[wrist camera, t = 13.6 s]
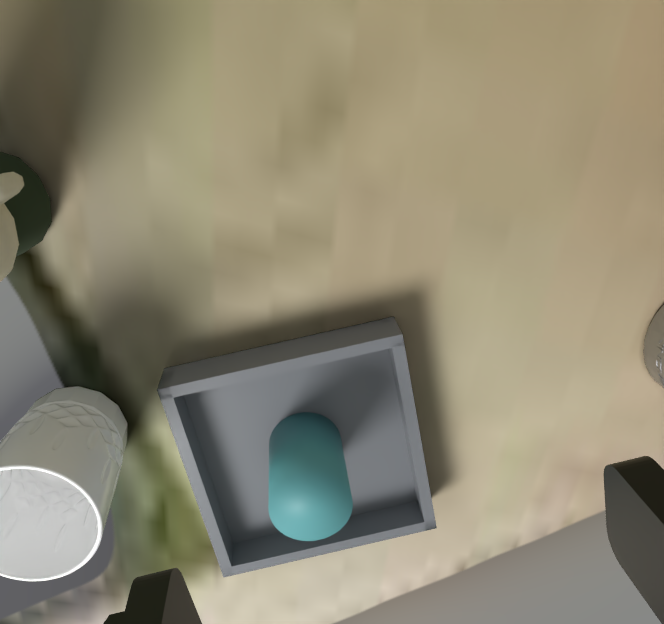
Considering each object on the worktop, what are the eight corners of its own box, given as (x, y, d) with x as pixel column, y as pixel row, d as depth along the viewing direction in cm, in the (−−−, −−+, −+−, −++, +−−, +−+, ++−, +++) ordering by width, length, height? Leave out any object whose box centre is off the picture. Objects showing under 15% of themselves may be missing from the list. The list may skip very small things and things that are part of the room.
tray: (393, 316, 43) (402, 334, 40) (426, 501, 49) (436, 528, 46) (164, 368, 42) (156, 389, 40) (226, 547, 48) (223, 577, 46)
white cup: (150, 395, 43) (117, 486, 34) (121, 486, 46) (84, 594, 36) (32, 363, 41) (-36, 449, 32) (9, 459, 44) (-61, 565, 35)
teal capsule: (332, 405, 44) (343, 463, 37) (347, 464, 46) (360, 530, 39) (260, 421, 44) (259, 483, 37) (278, 480, 46) (279, 549, 39)
